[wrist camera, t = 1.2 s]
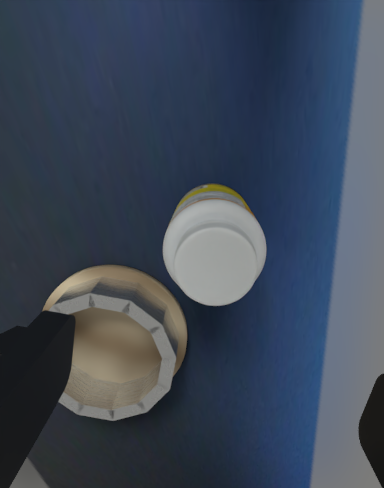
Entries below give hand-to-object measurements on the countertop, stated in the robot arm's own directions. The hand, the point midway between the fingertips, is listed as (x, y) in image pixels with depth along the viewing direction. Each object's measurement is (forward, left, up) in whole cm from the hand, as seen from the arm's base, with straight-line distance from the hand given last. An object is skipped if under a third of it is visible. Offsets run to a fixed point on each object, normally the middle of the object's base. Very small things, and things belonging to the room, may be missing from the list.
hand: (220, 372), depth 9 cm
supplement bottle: (0, 0, -18) cm, 18 cm away
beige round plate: (+11, -6, -18) cm, 22 cm away
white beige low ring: (+11, -6, -16) cm, 21 cm away
